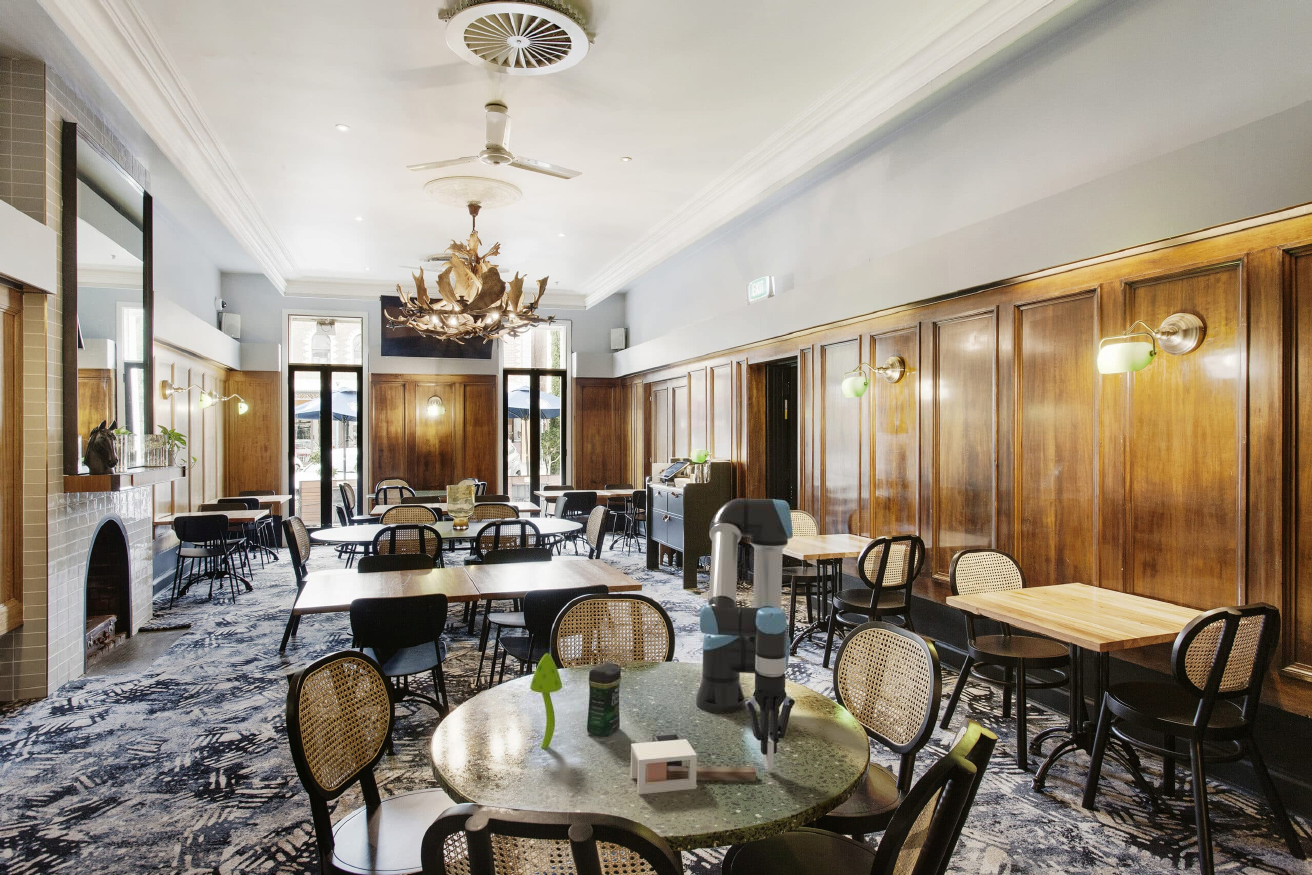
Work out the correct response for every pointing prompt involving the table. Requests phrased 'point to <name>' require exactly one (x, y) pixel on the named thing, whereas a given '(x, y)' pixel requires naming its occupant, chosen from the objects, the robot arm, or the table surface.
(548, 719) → the mushroom
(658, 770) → the block
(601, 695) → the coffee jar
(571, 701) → the table surface
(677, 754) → the tunnel
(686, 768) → the rod
